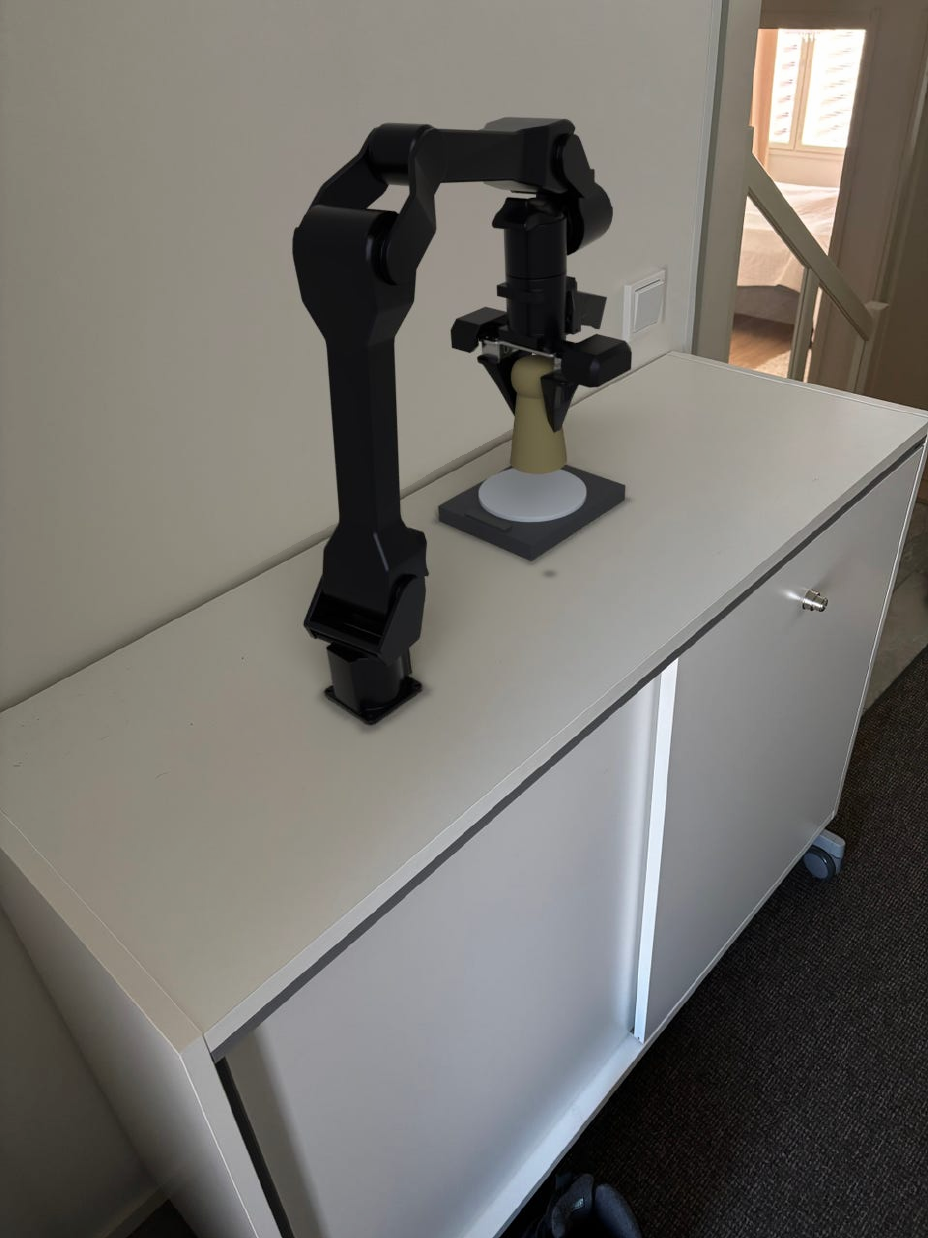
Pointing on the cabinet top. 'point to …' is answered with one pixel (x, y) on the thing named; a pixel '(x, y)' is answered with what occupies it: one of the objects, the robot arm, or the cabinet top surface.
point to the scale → (531, 508)
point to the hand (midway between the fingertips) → (538, 426)
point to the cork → (534, 420)
